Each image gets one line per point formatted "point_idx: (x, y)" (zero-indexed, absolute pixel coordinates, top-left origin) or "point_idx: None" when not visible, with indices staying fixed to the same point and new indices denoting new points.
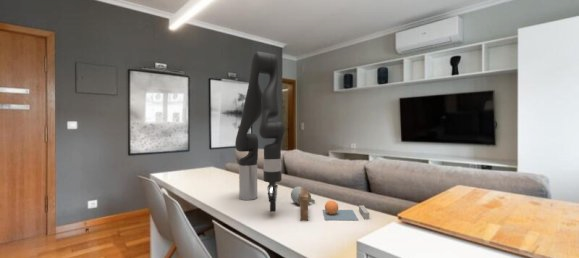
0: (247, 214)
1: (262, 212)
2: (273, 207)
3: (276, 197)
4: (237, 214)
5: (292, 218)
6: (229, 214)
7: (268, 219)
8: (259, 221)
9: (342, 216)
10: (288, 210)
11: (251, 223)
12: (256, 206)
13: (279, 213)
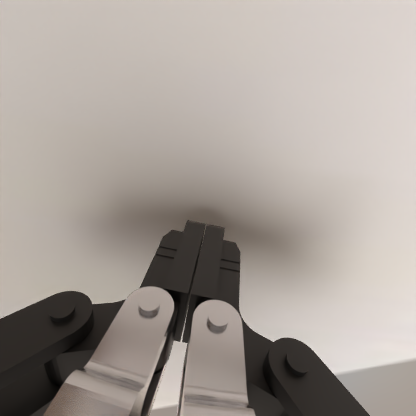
0: (180, 351)
1: (142, 281)
2: (239, 275)
3: (71, 312)
4: (176, 383)
5: (404, 17)
6: (173, 403)
7: (325, 265)
8: (346, 317)
9: None
10: (66, 39)
11: (365, 354)
12: (8, 297)
13: (176, 161)
